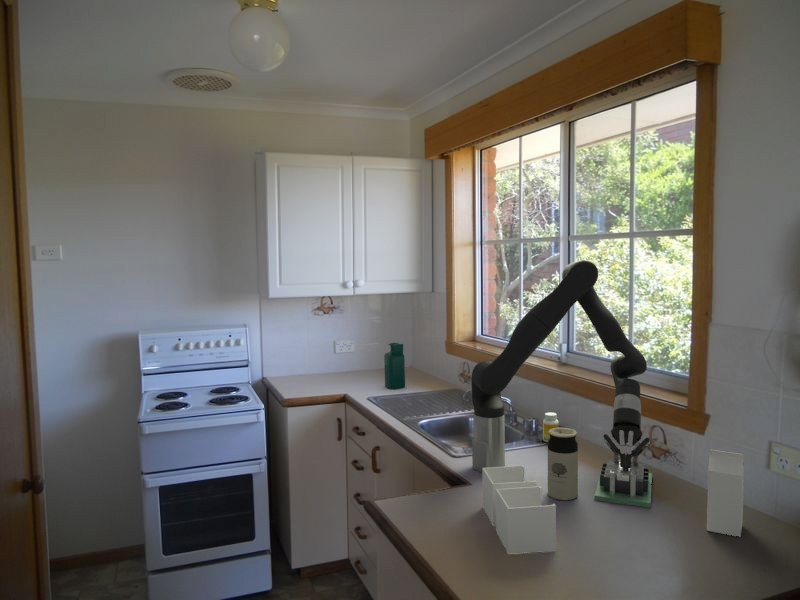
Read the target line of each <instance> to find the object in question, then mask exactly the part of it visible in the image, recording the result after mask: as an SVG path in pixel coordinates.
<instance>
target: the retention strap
mask: <svg viewBox="0 0 800 600" xmlns="http://www.w3.org/2000/svg"><path fill="white" fill-rule="evenodd" d="M632 458H633V457H632ZM632 458H631V462H632V463H633V461H632V460H633V459H632ZM630 469H631V468H628V470H623V467H621V466H620V463H619V468H618V474H617V480H621V481H629V476H630Z"/></svg>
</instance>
